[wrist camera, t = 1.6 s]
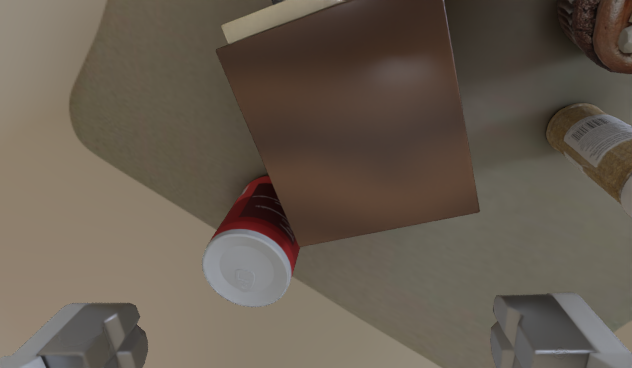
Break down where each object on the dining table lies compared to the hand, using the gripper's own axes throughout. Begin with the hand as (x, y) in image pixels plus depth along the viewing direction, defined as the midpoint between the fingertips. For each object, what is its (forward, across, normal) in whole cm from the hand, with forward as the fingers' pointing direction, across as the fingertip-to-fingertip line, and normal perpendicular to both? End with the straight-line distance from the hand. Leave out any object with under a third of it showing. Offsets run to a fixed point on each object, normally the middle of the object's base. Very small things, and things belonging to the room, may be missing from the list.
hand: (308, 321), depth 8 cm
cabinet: (+28, -2, -1) cm, 28 cm away
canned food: (+30, +8, +10) cm, 33 cm away
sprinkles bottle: (+27, -20, +3) cm, 34 cm away
